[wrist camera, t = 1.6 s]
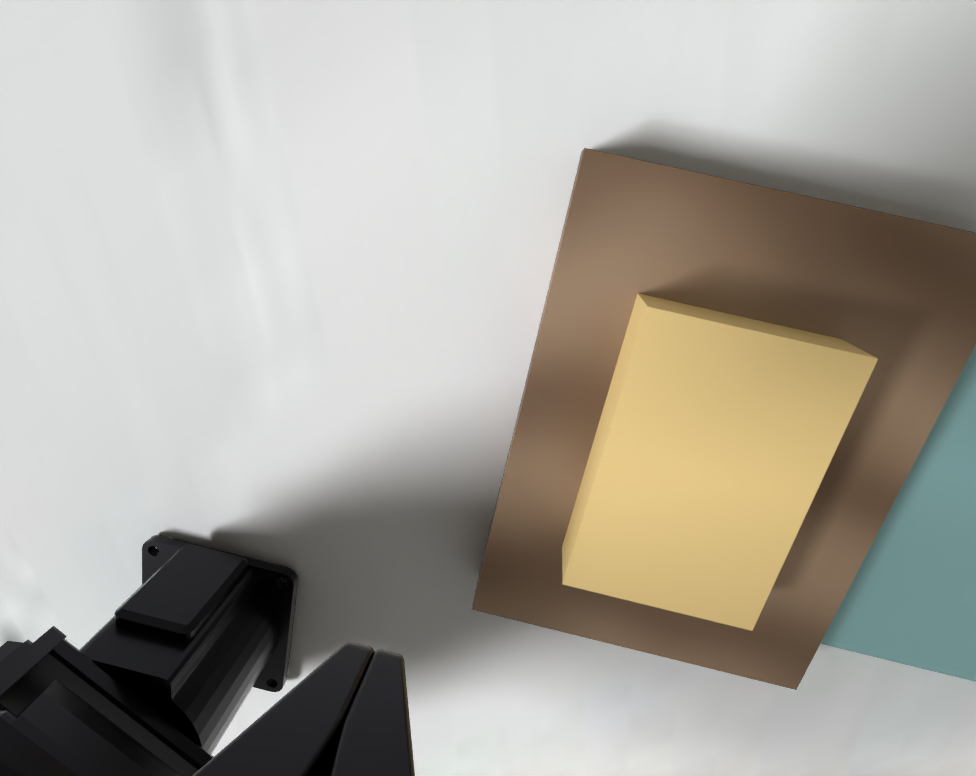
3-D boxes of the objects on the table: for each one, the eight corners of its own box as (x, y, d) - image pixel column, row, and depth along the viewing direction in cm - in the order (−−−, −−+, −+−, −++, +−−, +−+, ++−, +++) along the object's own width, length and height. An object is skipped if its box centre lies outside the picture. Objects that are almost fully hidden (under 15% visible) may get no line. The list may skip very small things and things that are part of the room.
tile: (733, 588, 20) (752, 630, 18) (561, 547, 20) (562, 584, 18) (842, 339, 17) (878, 358, 15) (637, 293, 17) (647, 306, 15)
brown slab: (776, 648, 23) (796, 689, 21) (479, 574, 23) (472, 609, 21) (976, 237, 17) (1027, 243, 15) (581, 152, 18) (584, 147, 16)
